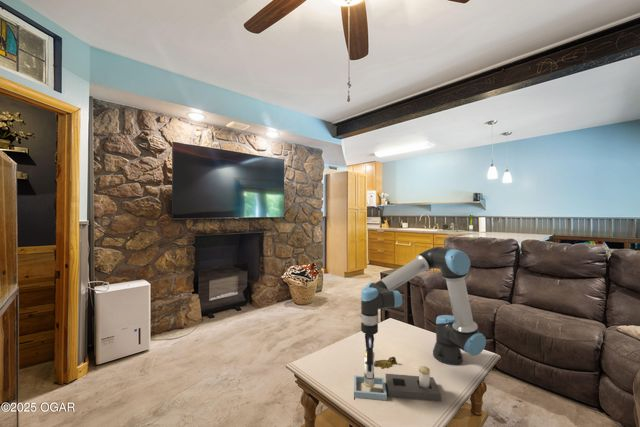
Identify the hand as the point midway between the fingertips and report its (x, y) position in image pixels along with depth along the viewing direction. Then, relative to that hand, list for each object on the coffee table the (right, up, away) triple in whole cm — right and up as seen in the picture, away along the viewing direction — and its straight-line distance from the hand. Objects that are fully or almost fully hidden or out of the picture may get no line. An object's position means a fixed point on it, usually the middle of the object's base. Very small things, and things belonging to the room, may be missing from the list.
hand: (369, 373), depth 121 cm
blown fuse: (0, -5, 0) cm, 5 cm away
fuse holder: (+19, -8, 0) cm, 21 cm away
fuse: (+25, -7, -1) cm, 26 cm away
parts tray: (0, -8, 0) cm, 8 cm away
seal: (+12, -9, +21) cm, 25 cm away
